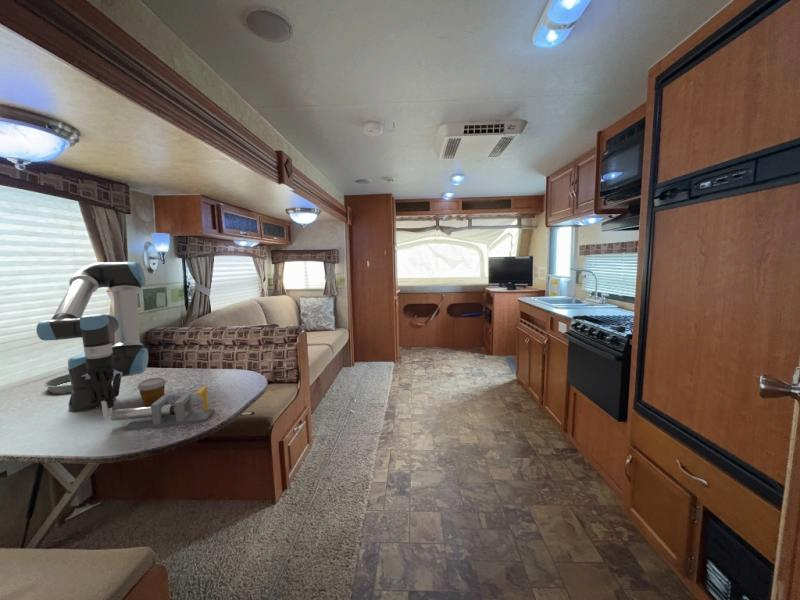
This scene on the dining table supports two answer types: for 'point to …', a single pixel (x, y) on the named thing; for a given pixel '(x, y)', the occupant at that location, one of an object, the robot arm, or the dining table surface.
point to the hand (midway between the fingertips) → (108, 416)
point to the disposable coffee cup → (151, 390)
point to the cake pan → (57, 381)
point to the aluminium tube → (141, 412)
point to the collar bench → (169, 420)
